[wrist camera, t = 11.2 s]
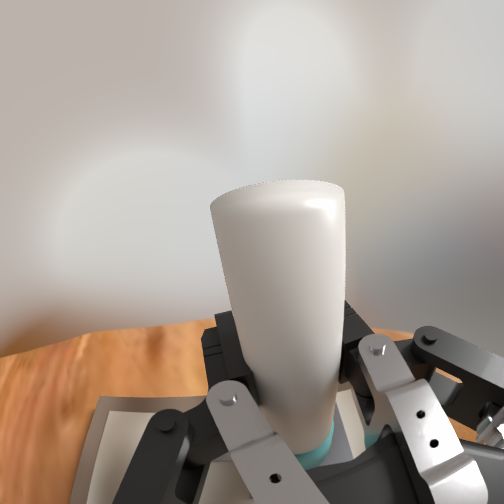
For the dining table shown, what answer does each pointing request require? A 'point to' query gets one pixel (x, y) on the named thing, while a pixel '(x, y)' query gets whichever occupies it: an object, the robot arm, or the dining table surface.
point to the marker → (288, 301)
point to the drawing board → (221, 469)
